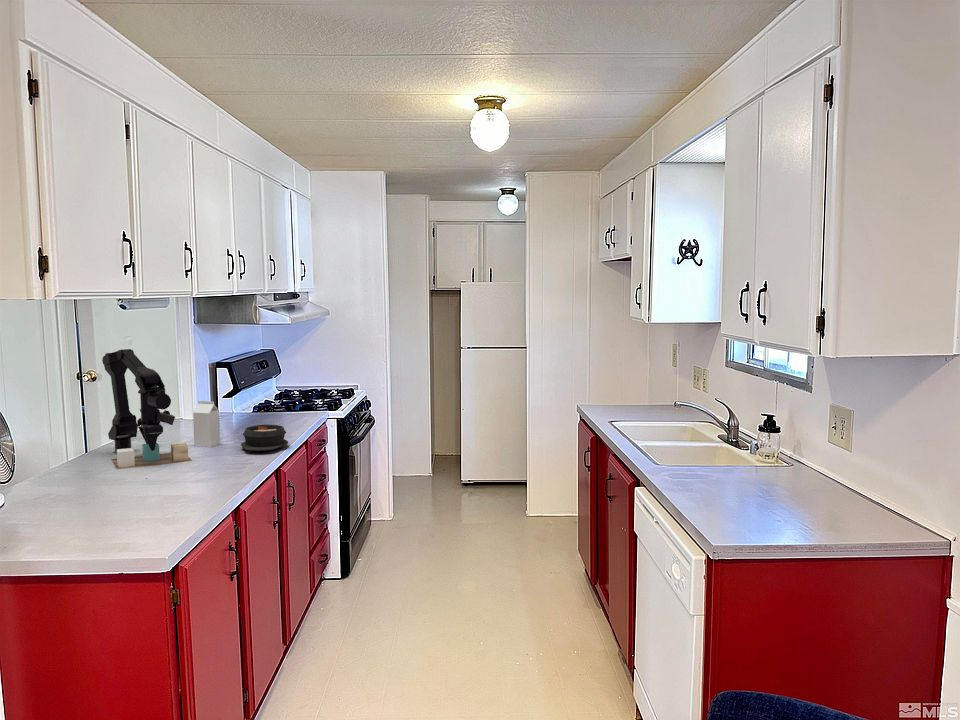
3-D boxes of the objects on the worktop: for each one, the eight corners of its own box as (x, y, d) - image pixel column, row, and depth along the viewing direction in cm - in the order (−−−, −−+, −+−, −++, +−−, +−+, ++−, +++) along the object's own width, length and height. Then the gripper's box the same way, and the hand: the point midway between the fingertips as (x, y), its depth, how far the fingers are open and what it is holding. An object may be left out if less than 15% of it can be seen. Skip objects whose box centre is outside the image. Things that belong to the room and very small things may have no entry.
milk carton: (210, 450, 285) (208, 403, 283) (194, 449, 286) (192, 402, 284) (220, 446, 292) (218, 400, 290) (204, 445, 293) (203, 399, 291)
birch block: (171, 458, 265) (170, 444, 265) (185, 457, 268) (185, 442, 268) (173, 461, 261) (173, 446, 261) (188, 459, 264) (187, 445, 263)
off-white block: (117, 464, 256) (116, 449, 255) (132, 462, 258) (132, 447, 258) (119, 467, 252) (118, 452, 251) (134, 465, 254) (134, 450, 254)
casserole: (247, 441, 301) (247, 422, 301) (292, 441, 304) (292, 421, 303) (234, 455, 277) (233, 434, 276) (283, 454, 279) (283, 433, 278)
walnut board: (111, 462, 264) (110, 458, 264) (183, 454, 278) (182, 451, 278) (116, 472, 249) (116, 469, 249) (192, 464, 263) (192, 460, 262)
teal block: (142, 458, 265) (142, 444, 264) (157, 457, 267) (156, 442, 267) (144, 461, 261) (144, 446, 260) (159, 459, 263) (159, 445, 263)
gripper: (177, 408, 259) (178, 450, 260) (168, 401, 274) (169, 441, 276) (143, 410, 253) (145, 454, 254) (136, 403, 268) (137, 444, 270)
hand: (150, 448), depth 264 cm, fingers open, 9 cm apart
